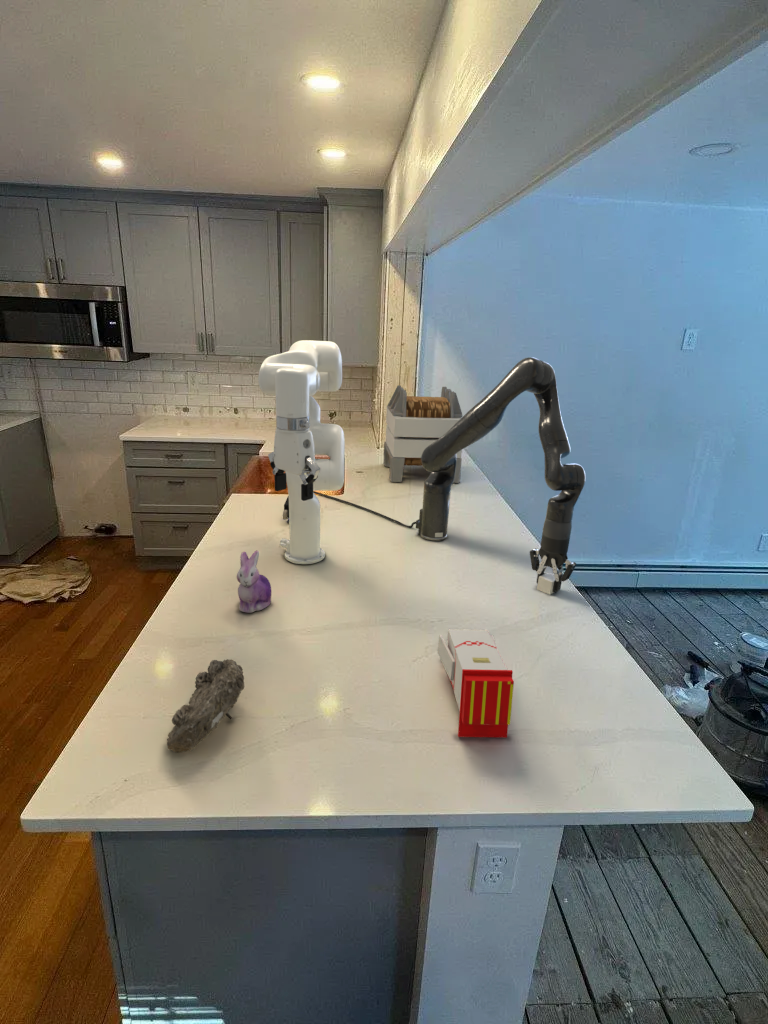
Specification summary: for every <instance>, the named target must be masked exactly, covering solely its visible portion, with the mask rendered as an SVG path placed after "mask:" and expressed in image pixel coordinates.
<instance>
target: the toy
mask: <svg viewBox="0 0 768 1024" xmlns="http://www.w3.org/2000/svg"><path fill="white" fill-rule="evenodd" d="M446 640H447V643H446V641H445V639H444V636H443V635H442V634H439V637H438V646H437V656H438V657H439V659H440V661H441V663H442V666H443V668H444V670H445V672H446V674H447V677H448V679H449V681H450V684H451V687H452V690H453V693H454V697H455V701H456V705H457V708H458V711H459V714H458V715H459V716H458V730H457V731H458V732H457V737H458V738H508V731H509V726H510V725H511V717H512V707H513V697H514V696H513V695H514V684H515V680H514V679H513V673H514V671H513V670H512V669H508V667H507V665H506V662H505V661H504V659H503V658H502V655H501V653H500V651H499V649H498V647H497V643H496V639H495V637H494V635H493V634H491V632H490V631H489V629H467V628H466V629H465V628H463V629H461V628H460V629H459V628H448V630H447V639H446Z"/></svg>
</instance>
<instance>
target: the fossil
mask: <svg viewBox="0 0 768 1024" xmlns="http://www.w3.org/2000/svg"><path fill="white" fill-rule="evenodd" d="M243 670H244V669H243V667H242V665H240V664H237V662H236V661H235V660H234V659H232V658H231V659H227V658H226V659H224V660H223V661H222V660H217V659H212V660H211V661H210V663H209V665H208V666H207V671H201V672H199V673H198V674H197V675H196V676H195V680H194V684H195V685H194V687H195V689H194V690H193V693H192V694H191V697H190V698H189V700H188V704H184V705H182V706H181V707H180V709H177V710H176V711H175V713H174V715H173V716H172V718H171V723H172V724H173V727H172V730H171V731H170V732H168V734H167V738H166V741H167V742H166V745H167V749H168V750H169V751H173V752H174V753H176V754H178V753H182V752H188V751H189V752H192V751H193V750H195V748H196V747H197V746H199V744H200V743H201V742H203V741H204V740H205V739H206V738H207V737H208V736H209V735H210V734H211V733H212V732H214V730H215V729H217V727H218V726H219V724H220V722H221V721H222V720H223V719H224V718H225V716H226V717H227V719H229V720H233V717H232V715H230V714H229V710H230V709H231V708H234V706H235V704H236V703H237V702H238V699H239V697H240V695H241V693H242V691H243V690H245V689H244V688H245V675H244V671H243Z"/></svg>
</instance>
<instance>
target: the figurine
mask: <svg viewBox="0 0 768 1024" xmlns="http://www.w3.org/2000/svg"><path fill="white" fill-rule="evenodd" d="M259 557H260V551H259V550H255V551H254V552H253V553H252V554H251V556H250V557H249V556H248V554H247V552H246V551H242V552H241V553H240V557H239V558H240V567H239V569H238V571H237V573H236V580H237V582H238V583H239V586H238V588H237V596H238V599H239V608H238V609H239V611H240V612H243V613H250V614H251V613H254V612H258V611H261V610H264V609H266V608H267V607H268V606H270V605H271V602H272V586H271V582H270V580H269V579H268V578H267V576H265V575H263V574H260V572H259V569H258V568H257V564H258V562H259Z"/></svg>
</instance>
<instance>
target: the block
mask: <svg viewBox="0 0 768 1024" xmlns="http://www.w3.org/2000/svg"><path fill="white" fill-rule="evenodd" d="M544 573H545V574H543V575H541V576H540V577H539V579H538V584H537V587H536V590H537V591H540V592H542V593H544V594H547V595H550V596H551V595H552V594H554V593H555V592H553V586H554V580H555V576H554V573H550V572H544Z"/></svg>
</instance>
